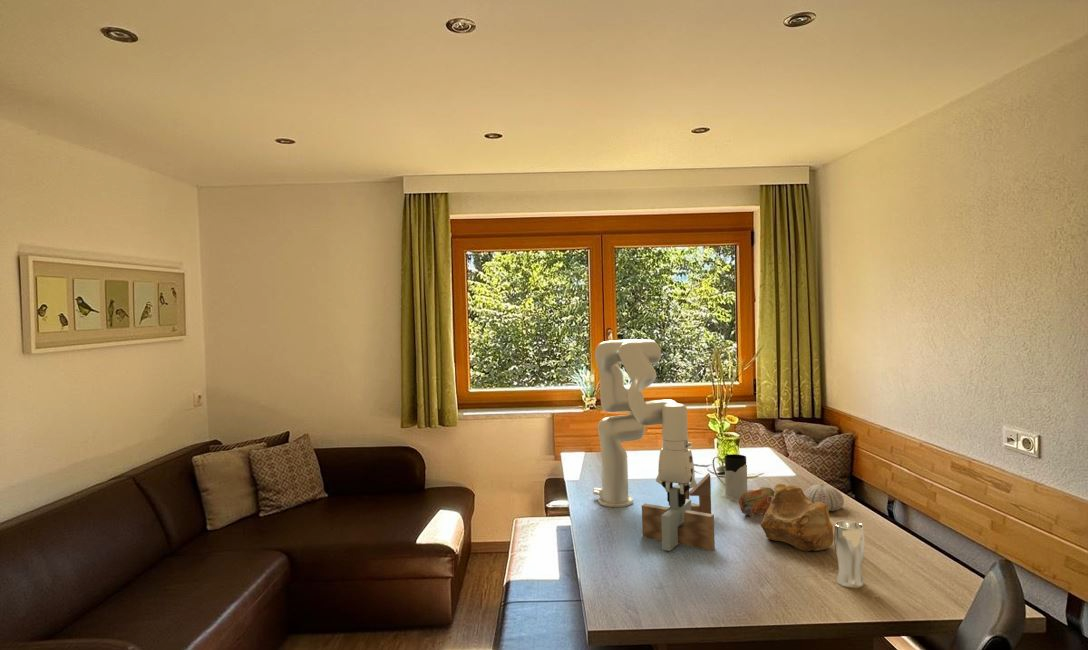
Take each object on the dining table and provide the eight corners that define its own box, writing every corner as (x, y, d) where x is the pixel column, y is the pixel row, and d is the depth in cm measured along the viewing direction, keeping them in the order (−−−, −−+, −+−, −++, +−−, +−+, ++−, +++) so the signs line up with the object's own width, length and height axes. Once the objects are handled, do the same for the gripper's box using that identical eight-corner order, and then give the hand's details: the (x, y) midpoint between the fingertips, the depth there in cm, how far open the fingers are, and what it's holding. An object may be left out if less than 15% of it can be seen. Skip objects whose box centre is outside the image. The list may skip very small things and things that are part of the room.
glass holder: (740, 502, 227) (739, 460, 227) (706, 494, 238) (706, 454, 237) (753, 496, 233) (752, 456, 233) (720, 489, 244) (719, 450, 243)
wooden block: (711, 517, 213) (710, 464, 212) (679, 516, 214) (677, 464, 213) (710, 513, 216) (708, 461, 216) (678, 513, 218) (676, 461, 217)
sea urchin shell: (800, 511, 216) (799, 488, 216) (804, 499, 228) (803, 477, 228) (843, 516, 210) (842, 492, 209) (844, 504, 222) (844, 481, 221)
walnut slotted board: (642, 537, 196) (641, 505, 196) (645, 534, 198) (644, 503, 198) (712, 550, 184) (711, 516, 184) (714, 547, 186) (713, 514, 186)
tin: (744, 518, 210) (744, 493, 210) (737, 515, 213) (737, 491, 213) (777, 510, 217) (776, 486, 217) (770, 508, 220) (769, 484, 220)
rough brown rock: (746, 532, 200) (742, 486, 199) (794, 523, 203) (790, 478, 201) (787, 564, 177) (783, 512, 176) (840, 553, 180) (836, 502, 179)
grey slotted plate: (684, 529, 199) (683, 479, 199) (691, 531, 198) (690, 480, 197) (662, 549, 184) (660, 495, 184) (669, 550, 183) (668, 496, 182)
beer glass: (829, 577, 164) (828, 520, 163) (855, 576, 164) (854, 519, 164) (844, 589, 157) (843, 530, 156) (871, 588, 157) (870, 528, 157)
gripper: (705, 444, 189) (706, 505, 190) (655, 439, 198) (656, 497, 198) (696, 450, 183) (698, 512, 183) (645, 444, 191) (646, 504, 192)
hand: (676, 504), depth 191 cm, fingers closed on grey slotted plate, 2 cm apart
